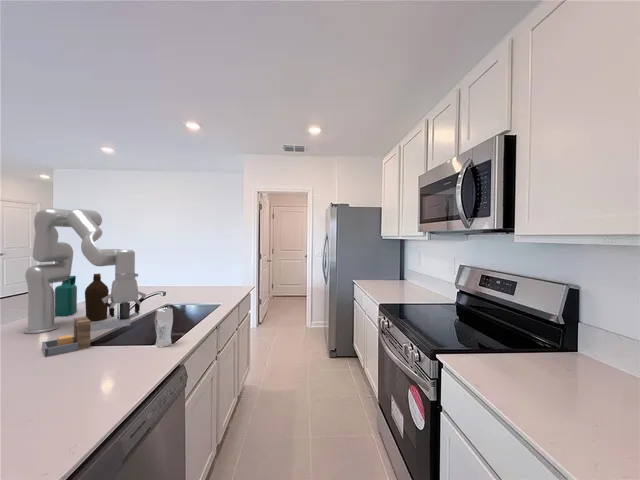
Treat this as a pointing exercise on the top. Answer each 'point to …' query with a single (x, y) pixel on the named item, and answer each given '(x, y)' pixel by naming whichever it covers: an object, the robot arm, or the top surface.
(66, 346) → the tray
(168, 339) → the beer glass
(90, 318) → the olive oil
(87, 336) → the brown wooden block
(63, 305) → the teal green bottle
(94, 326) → the grey piece
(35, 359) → the top surface
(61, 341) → the spacer block
